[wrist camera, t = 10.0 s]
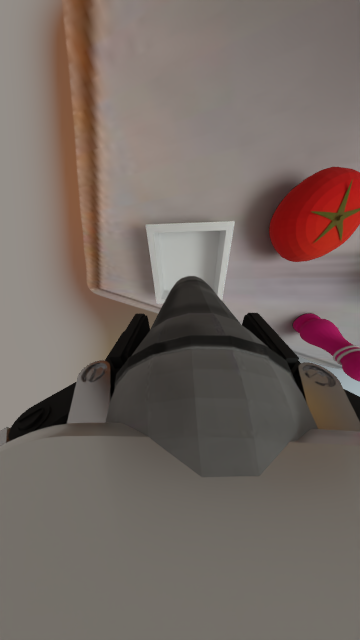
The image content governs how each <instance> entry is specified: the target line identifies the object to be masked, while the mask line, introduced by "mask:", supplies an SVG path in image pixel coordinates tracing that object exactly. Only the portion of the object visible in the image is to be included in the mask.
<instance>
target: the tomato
mask: <svg viewBox="0 0 360 640" xmlns="http://www.w3.org/2000/svg"><path fill="white" fill-rule="evenodd" d="M359 224H360V172H358V171H356V170H353V169H348V168H341V167H331V168H327V169H323V170H321V171H319V172H317V173H315V174H313V175H312V176H310V177H308V178H307V179H305V180H304V181H303V182H301V183H300V184H299V185H297V186H296V187H295V188H293V189H292V190H291V191H290V192H289V193H288V194H287V195H286V196H285V198H284V199H283V200H282V202H281V203H280V204H279V206H278V207H277V209H276V211H275V212H274V214H273V216H272V219H271V222H270V228H269V234H270V239H271V242H272V244H273V246H274V248H275V250H276V251H277V252H278V253H279V254H280V256H281V257H283V258H285V259H287V260H289V261H293V262H301V261H308V260H312V259H315V258H318V257H321V256H323V255H325V254H327V253H329V252H331V251H332V250H334V249H336V248H337V247H339V246H340V245H341V244H343V243H344V242H345V241H346V240H347V239H348V238H349V237H350V236H351V235H352V234H353V232H354V231H355V230H356V228H357V227H358V226H359Z"/></svg>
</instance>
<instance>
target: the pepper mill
mask: <svg viewBox="0 0 360 640" xmlns="http://www.w3.org/2000/svg"><path fill="white" fill-rule="evenodd" d="M293 328H294V329H295V330H296V331H297V332H298V333H300V336H301V338H302V339H303V340H305V341H306V342H308V343H310V344H312V345H315V346H317V347H320V348H322V349H324V350H326V351H327V352H329V353H330V354H331V355H332V356H333V359H334V360H335V361H337V363H338V364H340V365H342V368H343V371H344V372H345V373H346V374H347V375H348V376H350V377H351V378H353V379H355V380H357V381H360V346H356V345H352V344H351V343H349V342H348V341H347V340H345V339H344V338H343V336H342V335H341V333H340V332H339V330H338V328H337V327H336V326H335V325H334V324H333V323H332V322H330V321H329V320H326V319H321V318H320V317H318V316H317V315H315V314H311V313H308V314H304V315H302V316H300V317H298V318H297V319H296V320H295V321H294V323H293Z"/></svg>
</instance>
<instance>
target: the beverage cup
mask: <svg viewBox="0 0 360 640" xmlns="http://www.w3.org/2000/svg"><path fill="white" fill-rule="evenodd" d="M105 423H122V424H125V425H127V426H129V427H131V428H133V429H135V430H137V431H139V432H141V433H142V434H144V435H146V436H148V437H150V438H151V439H152V440H153V441H154V442H155V443H157V444H158V445H159V446H161V447H162V448H163V449H165V450H166V451H167V452H169V453H170V454H171V455H173V456H174V457H175V458H177V459H178V460H179V461H181V462H182V463H183V464H185V465H186V466H187V467H189V468H190V469H191V470H193V471H194V472H195V473H197V474H198V475H199V476H201V477H237V476H260V475H261V474H262V473H263V472H264V470H265V469H266V468H267V467H268V466H269V465H270V464H271V463H272V462H273V460H274V459H275V458H276V457H277V456H278V455H279V454H280V453H281V451H282V450H283V449H284V448H285V447H286V446H287V445H288V443H289V442H291V441H295V440H299V439H300V438H301V437H302V436H303V435H304V434H305V433H307V432H308V431H309V430H310V429H318V427H317V425H316V423H315V420H314V418H313V416H312V414H311V412H310V410H309V407H308V405H307V403H306V401H305V399H304V397H303V394H302V393H301V391H300V390H299V388H298V386H297V384H296V382H295V379H294V377H293V375H292V372H291V370H290V368H289V366H288V363H287V361H286V360H285V359H283V358H282V357H280V356H279V355H278V354H276V353H275V352H274V351H272V350H271V349H269V348H268V347H267V346H266V345H265V344H264V343H263V342H262V341H261V340H259V339H258V338H257V337H256V336H255V335H254V334H253V333H251V332H250V331H249V330H248V329H246V328H245V327H244V326H242V325H241V324H240V323H239V321H238V320H237V319H236V318H235V316H234V315H233V314H232V313H231V312H230V310H229V309H228V308H227V307H226V305H225V304H224V303H223V302H222V300H221V299H220V298H219V297H218V296H217V294H216V293H215V292H214V291H213V289H212V288H211V287H210V286H209V285H208V284H207V283H206V282H205V281H204V280H202V279H201V278H199V277H196V276H187V277H184V278H181V279H180V280H178V281H177V282H176V283H175V285H174V286H173V288H172V289H171V291H170V292H169V294H168V296H167V298H166V300H165V302H164V304H163V306H162V308H161V310H160V312H159V314H158V316H157V318H156V320H155V322H154V324H153V326H152V327H151V329H150V331H149V333H148V334H147V335H146V337H145V338H144V339H143V341H142V342H141V343H140V345H139V346H138V347H137V349H136V350H135V351H134V353H133V354H132V356H131V357H129V358H128V359H127V361H126V362H125V363H124V365H123V366H122V367H121V369H120V370H119V371H118V373H117V375H116V380H115V387H114V393H113V396H112V399H111V401H110V404H109V409H108V413H107V418H106V422H105Z"/></svg>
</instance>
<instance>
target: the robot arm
mask: <svg viewBox="0 0 360 640" xmlns="http://www.w3.org/2000/svg"><path fill="white" fill-rule="evenodd" d="M242 326H244V327H245V328H246V329H248V330H249V331H250V332H251V333H253V334H254V335H255V336H256V337H257V338H258V339H259V340H261V341H262V342H263V343H264V344H265V345H266V346H267V347H268V348H269V349H271V350H272V351H274V352H275V353H276V354H278V355H279V356H280V357H282V358H283V359H285V360H286V361H287V363H288V366H289V368H290V370H291V372H292V375H293V377H294V379H295V382H296V384H297V386H298V388H299V390H300V391H301V393H302V394H303V397H304V399H305V401H306V403H307V405H308V407H309V410H310V412H311V414H312V416H313V418H314V420H315V423H316V425H317V427H318V429H310V430H309V431H308V432H307V433H305V434H304V435H303V436H302V437H301V438H300V439H299V440H295V441H291V442H289V443H288V445H287V446H286V447H285V448H284V449H283V450H282V451H281V453H280V454H279V455H278V456H277V457H276V458H275V459H274V460H273V462H272V463H271V464H270V465H269V466H268V467H267V468H266V469H265V470H264V472H263V473H262V474H261V475H260V476H237V477H201V476H199V475H198V474H197V473H195V472H194V471H193V470H191V469H190V468H189V467H187V466H186V465H185V464H183V463H182V462H181V461H179V460H178V459H177V458H175V457H174V456H173V455H171V454H170V453H169V452H167V451H166V450H165V449H163V448H162V447H161V446H159V445H158V444H157V443H155V442H154V441H153V440H152V439H151V438H150V437H148V436H146V435H144V434H142V433H141V432H139V431H137V430H135V429H133V428H131V427H129V426H127V425H125V424H122V423H105V422H106V418H107V413H108V409H109V404H110V401H111V399H112V396H113V393H114V387H115V380H116V375H117V373H118V371H119V370H120V369H121V367H122V366H123V365H124V363H125V362H126V361H127V359H128V358H129V357H131V356H132V354H133V353H134V351H135V350H136V349H137V347H138V346H139V345H140V343H141V342H142V341H143V339H144V338H145V337H146V335H147V334H148V333H149V331H150V328H149V322H148V318H147V316H145V314H135V316H134V317H133V319H132V321H131V322H130V324H129V325H128V327H127V329H126V330H125V331H124V332H123V333H122V335H121V336H120V338H119V339H118V341H117V342H116V344H115V346H114V347H113V349H112V350H111V352H110V353H109V355H108V356H107V358H106V360H105V361H104V360H100V361H95V362H93V363H91V364H89V365H87V366H86V367H85V368H84V369H83V370H82V371H81V372H80V373H79V375H78V378H77V382H75V383H73V384H72V385H70V386H68V387H66V388H65V389H63V390H61V391H59V392H57V393H56V394H54V395H52V396H50V397H48V398H47V399H45V400H43V401H41V402H40V403H38V404H36V405H34V406H33V407H31V408H29V409H28V410H26V412H24V413H23V414H22V415H21V416H20V417H19V418H18V419H17V420H16V421H15V422H14V424H13V425H12V427H11V428H8V427H6V428H4V429H3V430H1V431H0V640H360V397H359V396H357V395H355V394H353V393H350V392H349V391H347V390H345V389H343V388H342V385H341V383H340V381H339V380H338V379H337V377H336V376H334V374H332V373H331V372H330V371H328V370H327V369H325V368H323V367H321V366H319V365H316V364H313V363H300V362H299V361H298V359H299V358H298V356H297V355H296V354H295V353H294V352H293V351H292V350H291V349H290V348H289V347H288V345H287V344H286V343H285V342H284V341H283V340H282V339H281V338H280V337H279V336H278V334H277V333H276V332H275V331H274V330H273V329H272V328H271V327H270V326H269V325H268V324H267V322H266V321H265V320H264V319H263V318H262V317H261V316H260V315H259V314H258V313H248V314H247V315H245V317H244V320H243V323H242Z"/></svg>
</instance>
